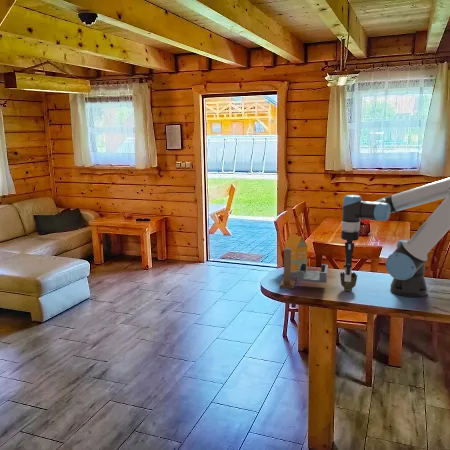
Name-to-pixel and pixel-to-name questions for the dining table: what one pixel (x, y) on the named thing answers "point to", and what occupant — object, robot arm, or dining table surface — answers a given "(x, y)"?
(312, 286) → the dining table surface
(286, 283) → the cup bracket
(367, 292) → the dining table surface
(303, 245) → the orange juice
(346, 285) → the cup
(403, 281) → the robot arm
